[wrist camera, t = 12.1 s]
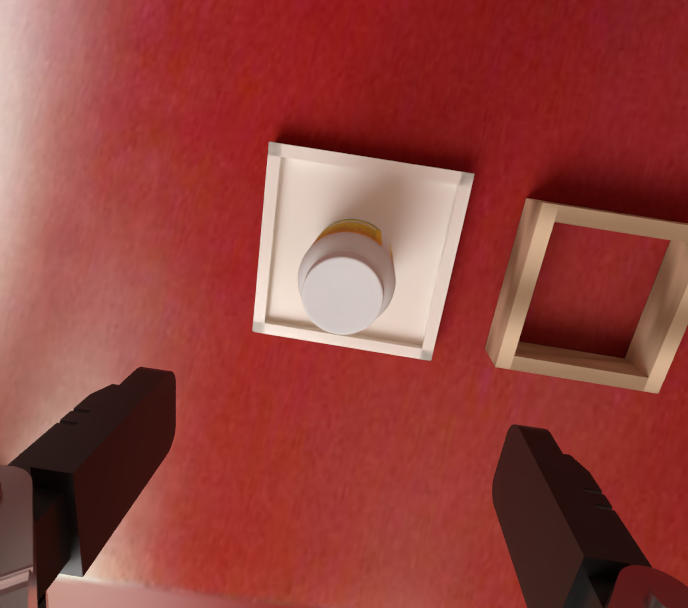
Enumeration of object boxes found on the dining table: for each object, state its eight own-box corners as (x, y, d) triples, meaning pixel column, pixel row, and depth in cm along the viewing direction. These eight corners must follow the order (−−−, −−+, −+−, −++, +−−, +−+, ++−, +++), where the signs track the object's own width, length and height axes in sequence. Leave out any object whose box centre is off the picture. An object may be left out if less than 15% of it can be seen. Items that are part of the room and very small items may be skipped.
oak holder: (526, 198, 29) (542, 202, 26) (693, 224, 29) (727, 231, 26) (485, 348, 33) (495, 366, 30) (633, 372, 33) (658, 393, 30)
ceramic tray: (274, 142, 29) (269, 141, 28) (469, 173, 29) (474, 173, 28) (257, 324, 33) (252, 331, 32) (428, 352, 33) (430, 360, 32)
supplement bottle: (406, 266, 30) (420, 313, 21) (342, 307, 32) (329, 368, 22) (362, 200, 29) (357, 220, 20) (298, 245, 30) (265, 282, 21)
